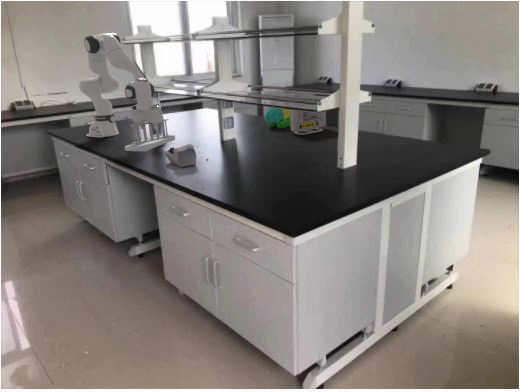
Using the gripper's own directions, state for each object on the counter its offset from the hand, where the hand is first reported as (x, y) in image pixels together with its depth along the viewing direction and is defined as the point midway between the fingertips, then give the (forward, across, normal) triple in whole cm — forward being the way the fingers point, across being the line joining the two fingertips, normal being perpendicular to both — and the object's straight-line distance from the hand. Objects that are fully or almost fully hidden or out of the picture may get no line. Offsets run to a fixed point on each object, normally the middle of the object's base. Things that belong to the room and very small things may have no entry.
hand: (149, 129), depth 260 cm
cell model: (+10, -43, +35) cm, 56 cm away
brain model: (+10, -65, -60) cm, 89 cm away
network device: (+10, -88, -46) cm, 100 cm away
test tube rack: (+7, 0, -1) cm, 7 cm away
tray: (+10, 0, 0) cm, 10 cm away
